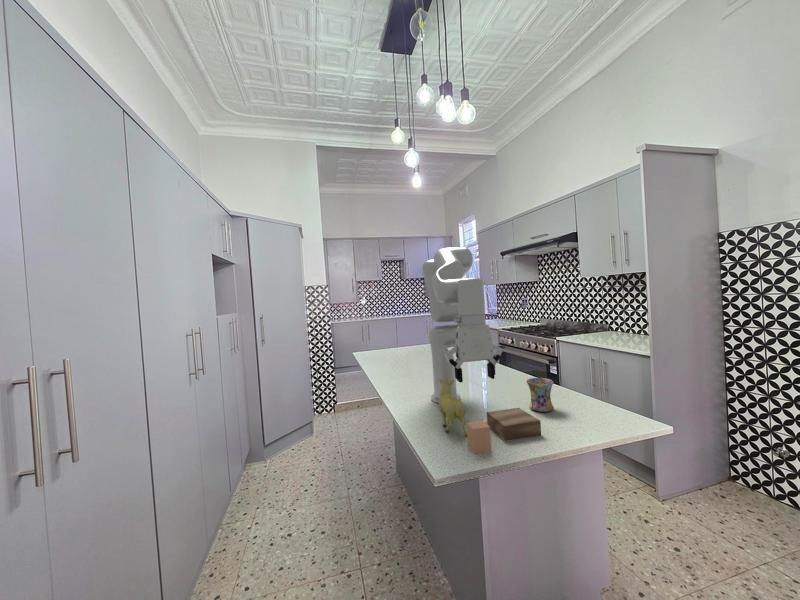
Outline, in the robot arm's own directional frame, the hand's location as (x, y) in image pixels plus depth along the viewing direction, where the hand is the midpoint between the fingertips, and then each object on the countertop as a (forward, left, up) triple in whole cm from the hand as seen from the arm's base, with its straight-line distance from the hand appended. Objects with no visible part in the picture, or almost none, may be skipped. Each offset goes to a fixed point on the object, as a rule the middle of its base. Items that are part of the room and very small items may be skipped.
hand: (475, 379), depth 94 cm
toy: (-17, -3, -20) cm, 27 cm away
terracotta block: (0, 0, -20) cm, 20 cm away
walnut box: (-8, +15, -21) cm, 27 cm away
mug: (-23, +34, -20) cm, 46 cm away
